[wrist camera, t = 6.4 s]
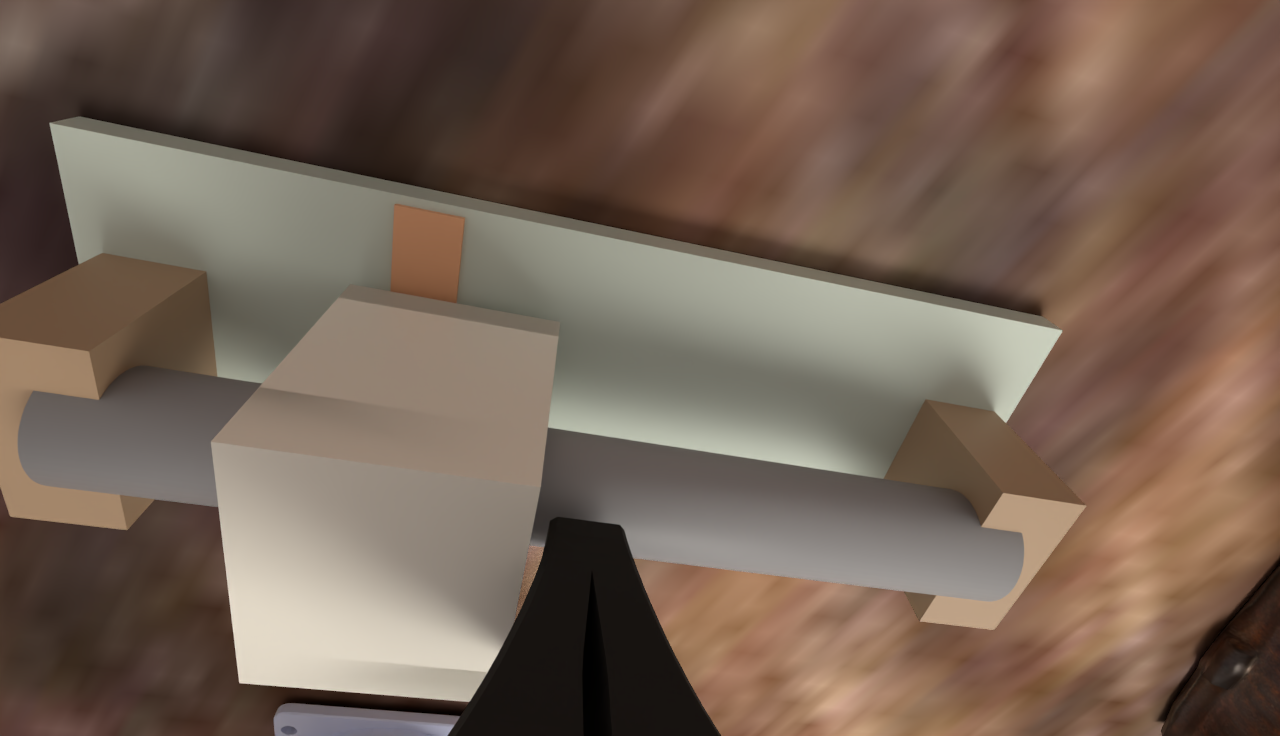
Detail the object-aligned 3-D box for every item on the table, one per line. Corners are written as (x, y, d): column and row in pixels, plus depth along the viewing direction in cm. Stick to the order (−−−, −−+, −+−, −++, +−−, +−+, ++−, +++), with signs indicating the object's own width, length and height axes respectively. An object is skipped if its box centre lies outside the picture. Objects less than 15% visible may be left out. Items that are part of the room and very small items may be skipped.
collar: (560, 321, 14) (540, 487, 9) (526, 500, 16) (497, 704, 12) (350, 283, 13) (210, 441, 8) (348, 477, 16) (239, 682, 11)
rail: (1043, 316, 16) (1212, 435, 12) (895, 565, 20) (979, 722, 16) (79, 116, 13) (-204, 177, 8) (144, 468, 17) (-19, 635, 12)
